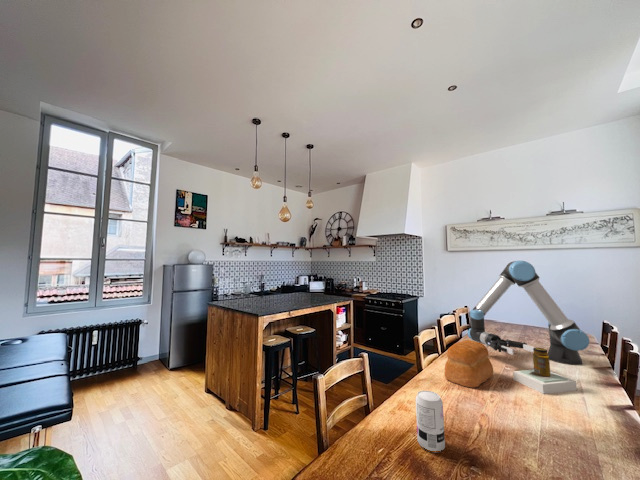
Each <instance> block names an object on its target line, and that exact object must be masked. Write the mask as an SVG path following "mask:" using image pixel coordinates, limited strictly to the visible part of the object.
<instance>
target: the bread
mask: <svg viewBox="0 0 640 480" xmlns="http://www.w3.org/2000/svg"><path fill="white" fill-rule="evenodd" d="M446 356H447V361H446V362H445V365H444V377H445V379H446V380H447V381H449V382H452V383H453V384H457V385H460V386H463V387H467V388H473V389H474V388H478V387H479V386H481V385H482V384H484V383H485V382H486V381H488V380H489V379H491V378H493V376H494V367H493V364H492V361H491V360H490V358H489V350H488V348H487V346H485V344H482V343H479V342H476V341H474V340H471V339H470V340H469V339H468V340H467V339H465V340H463V341H458V342H456V343H453V344H452V345H451V346H450V347H448V349H447V353H446Z"/></svg>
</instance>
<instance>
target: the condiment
mask: <svg viewBox="0 0 640 480" xmlns="http://www.w3.org/2000/svg"><path fill="white" fill-rule="evenodd" d="M533 350H534V351H533V352H534V353H533V352H532V360H533V362H532V364H533V370H534V371H533V372H531V373H528V374H530V375H533V376H536V377H540V378H543V379H549V378H551V377H553V376H554V375H551V374H550V372H551V366H550V359H549V356H548V350H547V349H546V348H543V347H535V348H533Z"/></svg>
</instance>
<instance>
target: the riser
mask: <svg viewBox="0 0 640 480" xmlns="http://www.w3.org/2000/svg"><path fill="white" fill-rule="evenodd" d="M533 371H534V369H527V370H526V369H525V370H524V369H523V370H514V371H512V376H513V377H512V379H513V381H515V382H518V383H520V384H522V385H523V386H526V387H528V388H530V389H532V390H534V391H536V392H537V393H540V394H543V395H546V394H547V395H548V394H556V393H565V392H574V391H578V390H577V389H578V386H577V380H574V379H571V378H569V377H566V376H563V375H561V374H558V373H556V372H553V371H550V374H551V375H554V376H553V377H551V378H549V379H543V378H540V377H536V376H533V375H530V374H528V373H531V372H533Z"/></svg>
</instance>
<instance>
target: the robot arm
mask: <svg viewBox="0 0 640 480" xmlns="http://www.w3.org/2000/svg"><path fill="white" fill-rule="evenodd" d="M515 284H516V285H517V286H518V287H519V288H522V289H524V291H525V292H526V293H527V295H528V296H529V297H530V299H531V300H532V302H533V303H534V304H535V306H536V307H537V309H538V310H539V311H540V312H541V314H542V315H543V316H544V318H545V319H546V320H547V321H548V324H547V326H548V334H549V345H550V346H549V349H548V350H547V353H548V356H549V361H553V362H557V363H560V364H565V365H574V366H576V365H577V366H578V365H582V364H583V359H582V357H581V355H580V353H579V351H583V350H586V349H587V348H588V347H589V345H590V338H589V336H588V335H587V333H586V332H585V331H583V330H581V329H580V328H579V326H578V324H577V323H576V322H575V321H574V320H572V319H569V318H568V317H567V316H566V314H565V313H564V311H562V309H561V308H560V307H559V306H558V304H557V303H556V302H555V300H554V299H553V298H552V296H551V295H550V294H549V293H548V291H547V290H546V289H545V287H544V286H543V285H542V283H541V282H540V276H539V274H538V273H537V272H536V269H535V266H533V264H531V263H530V262H528V261H525V260H514V261H511V262H509V263H508V264H507V265H506V266H505V267H504V269H503V270H502V272H501V273H500V274H499V278H498V279H497V280H496V281H495V282H494V284H493V285H492V286H491V287H490V288H489V289H488V290H487V292H486V293H485V294H484V295H483V297H482V298H481V299H480V300H479V302H478V303H477V304H476V305H474V307H473V308H472V309H470V310H469V312H468V318H469V319H470V326H471V327H470V328H469V329H468V330H467V337H468V338H469V339H470V340H471V341H475V342H479V343H481V344H483V345H484V346H485V345H486V347H490V348H491V349H493V351H498V352H499V353H502V352H504V353H506V354H509V355H510V356H511V355H512V356H514V355H515V353H514V351H515V350H514V349H513V348H517V349H523V350H525V351H527V352H531V353H532V354H533V353H534V352H533V351H534V350H533V348H536V347H535V346H532V345H529V344H527V343H526V342H521V341H517V340H511V339H503V338H501V337H500V336H499V335H497V334H494V333H491V332H487V331H486V326H485V316H486V314H488V312H489V311H490V310H491V309H492V307H494V305H496V303H497V302H498V301H499V300H500V299H501V297H502V296H503V295H504V294H505V293H506V292H507V291H508V289H510V287H511V286H512V285H515Z"/></svg>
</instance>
